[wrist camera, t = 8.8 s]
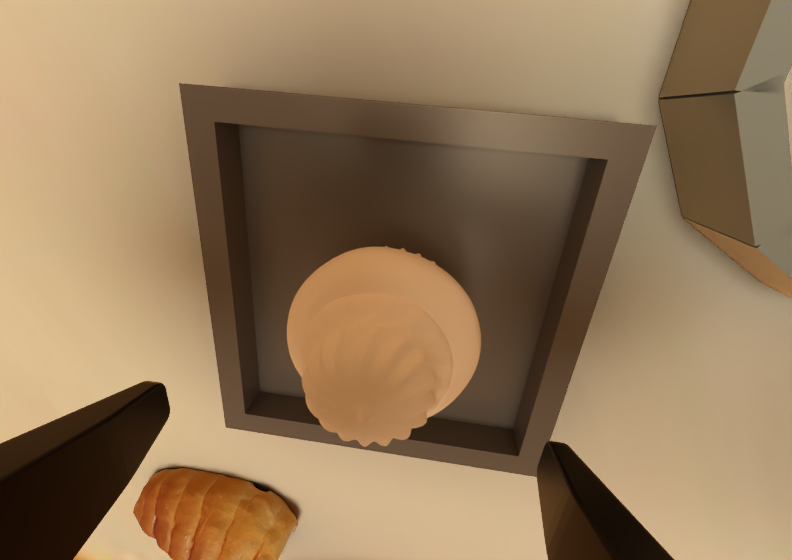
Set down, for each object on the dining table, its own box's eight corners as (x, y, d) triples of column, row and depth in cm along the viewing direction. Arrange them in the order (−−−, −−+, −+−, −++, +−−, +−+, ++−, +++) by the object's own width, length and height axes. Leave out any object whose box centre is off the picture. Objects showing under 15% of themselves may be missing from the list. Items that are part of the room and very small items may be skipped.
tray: (618, 124, 13) (656, 125, 10) (525, 432, 18) (537, 476, 16) (223, 89, 14) (179, 83, 11) (251, 390, 19) (225, 427, 17)
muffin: (306, 226, 14) (196, 313, 8) (468, 209, 13) (490, 293, 7) (336, 360, 17) (270, 510, 10) (476, 354, 16) (498, 516, 9)
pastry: (150, 507, 25) (102, 570, 21) (161, 439, 22) (109, 498, 19) (282, 555, 25) (257, 625, 22) (309, 494, 23) (285, 562, 19)
